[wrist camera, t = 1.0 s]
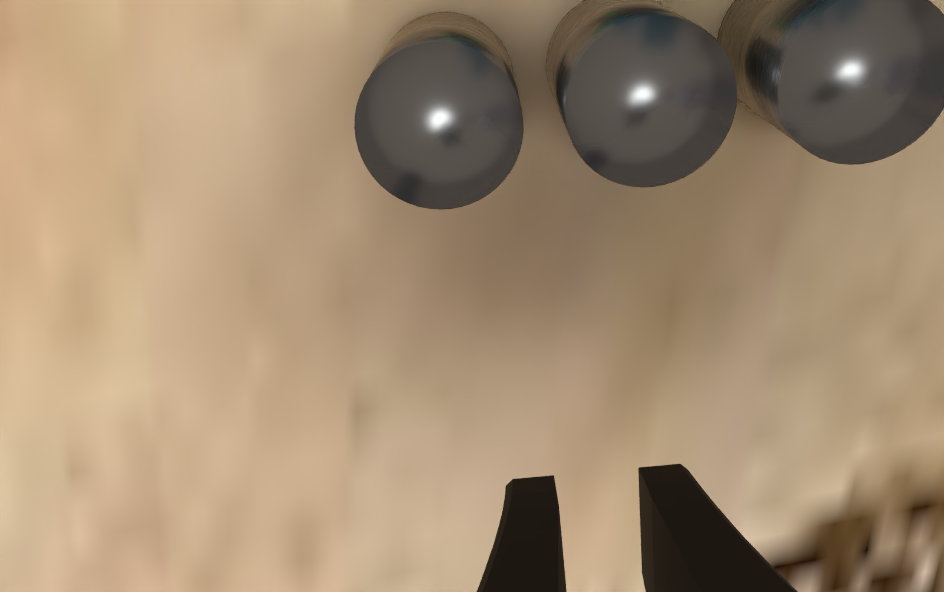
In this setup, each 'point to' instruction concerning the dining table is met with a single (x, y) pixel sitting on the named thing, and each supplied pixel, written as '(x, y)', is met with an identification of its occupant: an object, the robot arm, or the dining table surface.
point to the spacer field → (651, 90)
